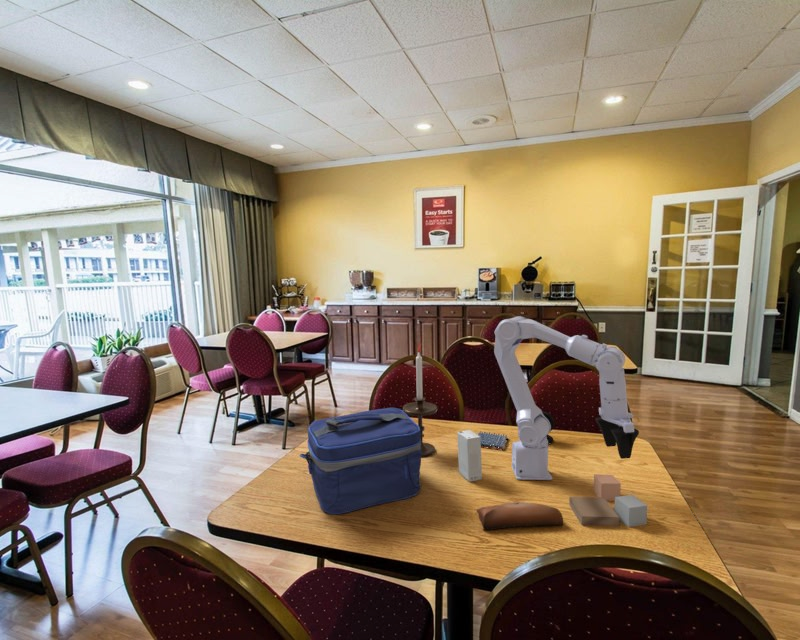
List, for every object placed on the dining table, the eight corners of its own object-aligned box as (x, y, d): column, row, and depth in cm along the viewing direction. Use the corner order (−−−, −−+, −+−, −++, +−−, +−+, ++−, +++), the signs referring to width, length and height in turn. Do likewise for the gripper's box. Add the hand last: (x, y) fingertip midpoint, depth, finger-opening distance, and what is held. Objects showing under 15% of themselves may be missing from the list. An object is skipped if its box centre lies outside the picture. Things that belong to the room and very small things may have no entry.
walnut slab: (581, 527, 90) (581, 516, 90) (569, 506, 98) (569, 496, 98) (619, 527, 89) (619, 517, 89) (603, 507, 97) (603, 497, 97)
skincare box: (482, 479, 111) (482, 436, 109) (468, 482, 109) (467, 439, 108) (471, 469, 117) (470, 428, 115) (457, 472, 115) (456, 431, 114)
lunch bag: (310, 524, 92) (306, 438, 90) (295, 482, 112) (292, 410, 109) (431, 493, 104) (430, 416, 102) (399, 460, 124) (398, 394, 121)
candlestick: (442, 447, 132) (441, 340, 128) (429, 461, 123) (427, 346, 119) (412, 441, 137) (410, 339, 133) (397, 454, 128) (395, 344, 124)
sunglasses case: (547, 505, 98) (554, 489, 94) (558, 534, 92) (566, 520, 88) (473, 509, 97) (477, 494, 93) (480, 540, 91) (484, 525, 87)
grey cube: (628, 527, 89) (629, 508, 88) (614, 515, 93) (614, 497, 93) (646, 524, 90) (647, 505, 89) (631, 513, 94) (632, 494, 94)
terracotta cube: (600, 500, 99) (601, 483, 99) (593, 491, 104) (594, 474, 103) (620, 501, 99) (620, 483, 99) (611, 491, 103) (612, 474, 103)
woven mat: (471, 448, 132) (471, 442, 132) (478, 436, 142) (478, 430, 142) (504, 452, 128) (504, 446, 128) (508, 440, 138) (508, 434, 138)
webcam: (530, 444, 133) (530, 414, 132) (528, 435, 140) (528, 407, 139) (555, 446, 131) (555, 416, 130) (551, 437, 138) (552, 408, 137)
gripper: (646, 403, 92) (650, 462, 93) (616, 389, 106) (620, 440, 107) (614, 406, 93) (618, 464, 93) (589, 391, 107) (593, 442, 108)
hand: (617, 451), depth 100 cm, fingers open, 7 cm apart
